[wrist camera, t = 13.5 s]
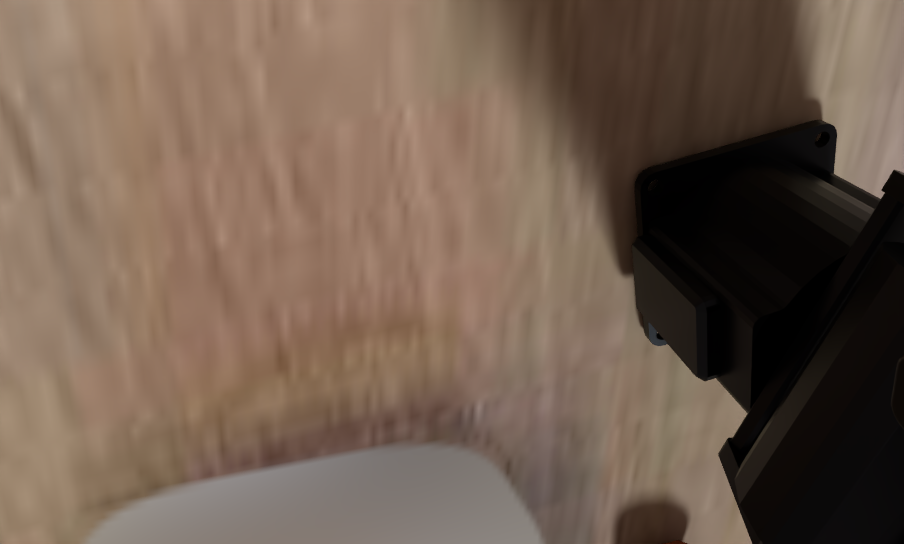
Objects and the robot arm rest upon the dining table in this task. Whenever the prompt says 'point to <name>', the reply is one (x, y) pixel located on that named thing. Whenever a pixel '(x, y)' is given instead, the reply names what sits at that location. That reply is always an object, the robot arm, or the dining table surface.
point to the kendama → (675, 542)
